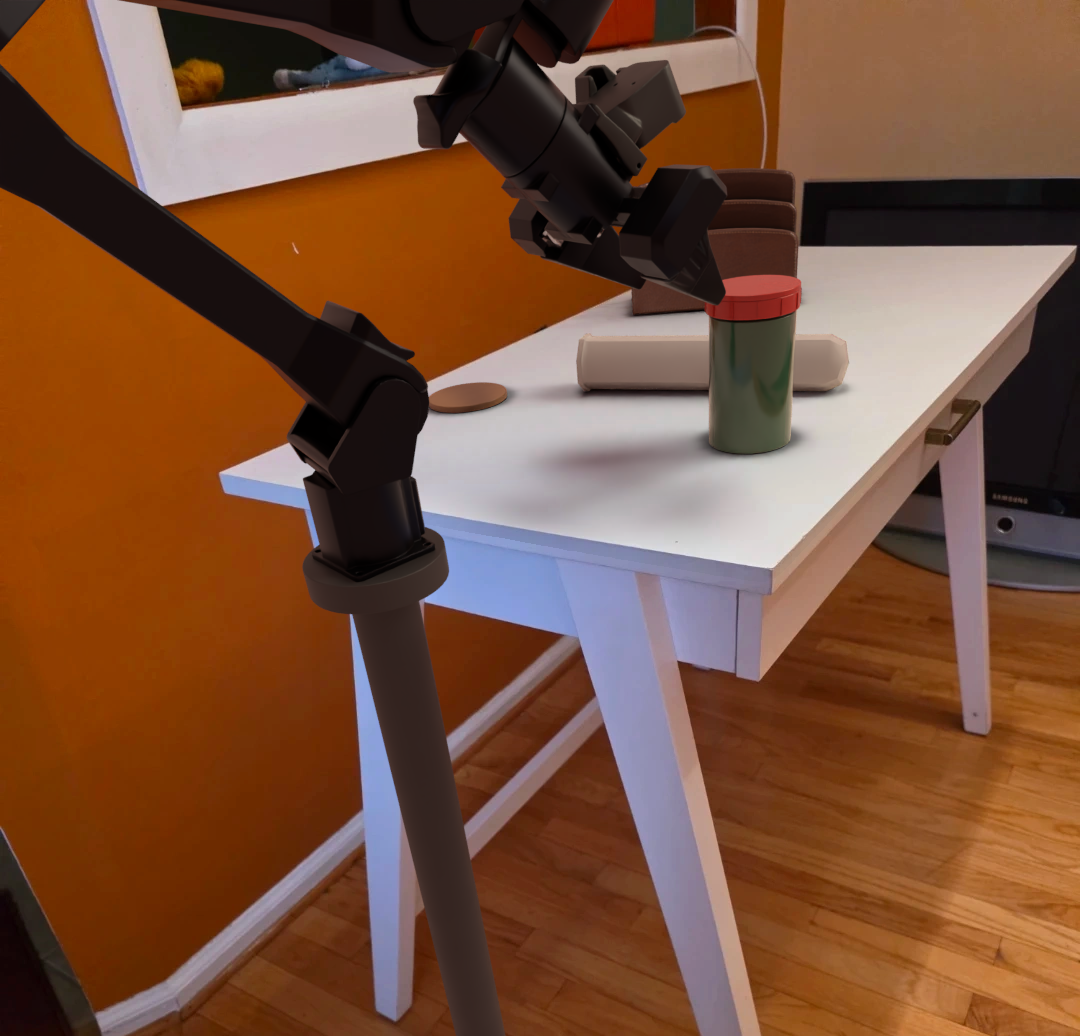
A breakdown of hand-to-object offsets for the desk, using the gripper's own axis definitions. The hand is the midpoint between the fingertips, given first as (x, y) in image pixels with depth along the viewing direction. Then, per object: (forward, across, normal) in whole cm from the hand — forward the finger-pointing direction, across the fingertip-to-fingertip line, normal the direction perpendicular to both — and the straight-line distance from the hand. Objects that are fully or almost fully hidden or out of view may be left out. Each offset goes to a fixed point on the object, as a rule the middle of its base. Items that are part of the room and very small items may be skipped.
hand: (680, 291), depth 69 cm
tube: (+19, +13, 0) cm, 23 cm away
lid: (+6, 0, -4) cm, 7 cm away
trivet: (+6, +29, +12) cm, 32 cm away
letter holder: (+35, +42, -17) cm, 57 cm away
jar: (+14, 0, +4) cm, 14 cm away
